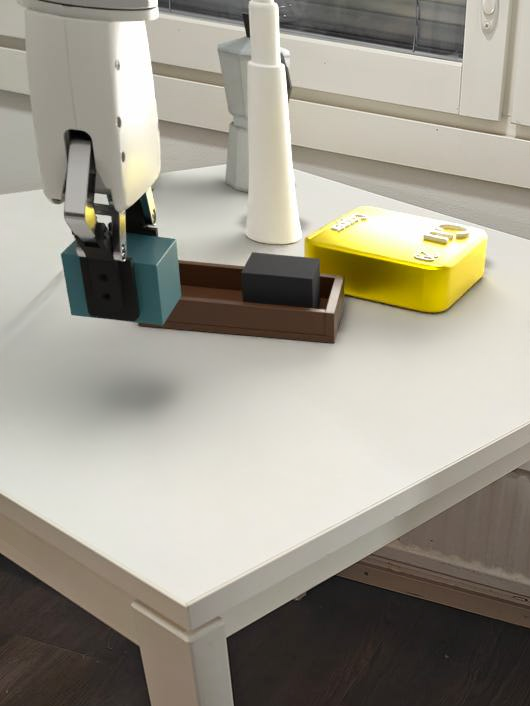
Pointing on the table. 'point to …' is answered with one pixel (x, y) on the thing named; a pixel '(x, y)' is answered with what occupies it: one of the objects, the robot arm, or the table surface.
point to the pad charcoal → (281, 280)
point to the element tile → (400, 257)
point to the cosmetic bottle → (269, 134)
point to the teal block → (150, 274)
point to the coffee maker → (241, 103)
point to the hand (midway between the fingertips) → (127, 297)
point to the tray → (249, 307)
